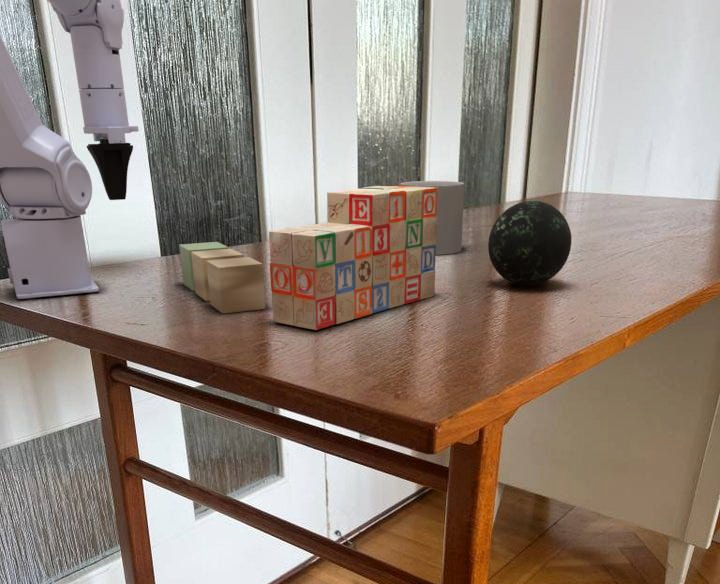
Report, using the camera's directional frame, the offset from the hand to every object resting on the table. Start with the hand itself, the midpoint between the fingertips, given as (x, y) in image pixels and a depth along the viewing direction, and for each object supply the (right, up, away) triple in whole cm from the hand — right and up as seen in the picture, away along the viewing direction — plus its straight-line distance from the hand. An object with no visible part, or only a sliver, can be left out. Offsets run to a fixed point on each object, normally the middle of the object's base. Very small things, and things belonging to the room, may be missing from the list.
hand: (117, 199), depth 105 cm
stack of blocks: (+34, -20, -20) cm, 44 cm away
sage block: (+14, -14, -8) cm, 21 cm away
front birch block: (+20, -19, -19) cm, 34 cm away
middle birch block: (+17, -17, -13) cm, 27 cm away
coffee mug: (+46, -2, +18) cm, 49 cm away
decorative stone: (+55, -15, -10) cm, 58 cm away
